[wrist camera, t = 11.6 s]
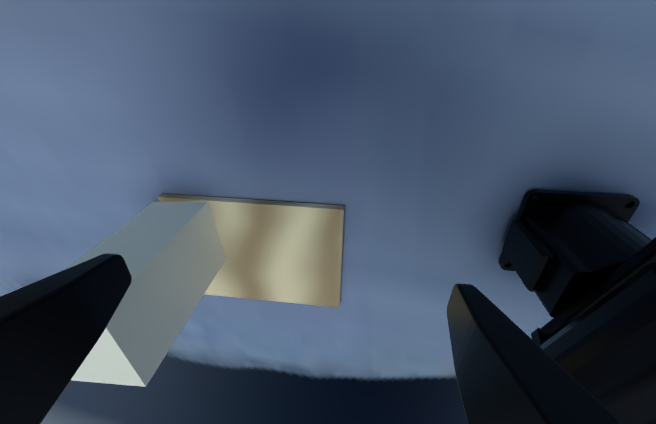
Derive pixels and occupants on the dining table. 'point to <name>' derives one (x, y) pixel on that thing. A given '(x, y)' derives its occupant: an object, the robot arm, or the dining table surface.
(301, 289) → the board
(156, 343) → the tall white cuboid
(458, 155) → the dining table surface
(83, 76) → the dining table surface
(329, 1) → the dining table surface
